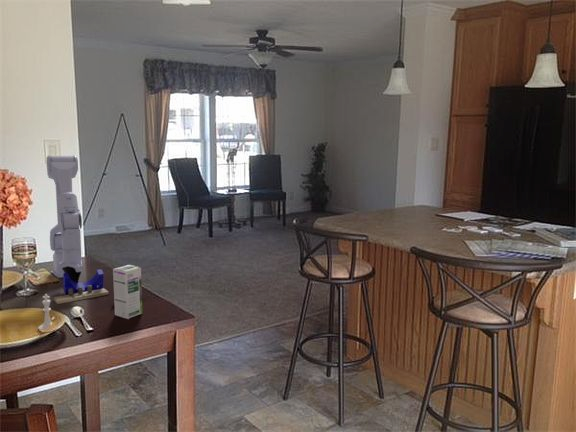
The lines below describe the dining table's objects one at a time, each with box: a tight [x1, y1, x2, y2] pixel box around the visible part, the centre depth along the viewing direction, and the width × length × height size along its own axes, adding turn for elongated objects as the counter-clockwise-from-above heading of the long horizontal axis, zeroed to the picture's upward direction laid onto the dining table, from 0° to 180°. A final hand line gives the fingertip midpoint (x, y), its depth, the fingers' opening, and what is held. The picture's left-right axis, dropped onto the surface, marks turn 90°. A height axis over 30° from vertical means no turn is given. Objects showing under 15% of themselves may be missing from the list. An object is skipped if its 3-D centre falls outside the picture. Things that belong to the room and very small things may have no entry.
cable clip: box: [62, 268, 104, 295], centre depth 171 cm, size 12×4×6 cm, turn 122°
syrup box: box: [112, 264, 143, 320], centre depth 152 cm, size 6×6×14 cm
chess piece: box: [37, 293, 53, 330], centre depth 140 cm, size 5×5×10 cm
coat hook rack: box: [53, 285, 110, 305], centre depth 167 cm, size 4×16×3 cm, turn 130°
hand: (73, 287), depth 173 cm, fingers closed
